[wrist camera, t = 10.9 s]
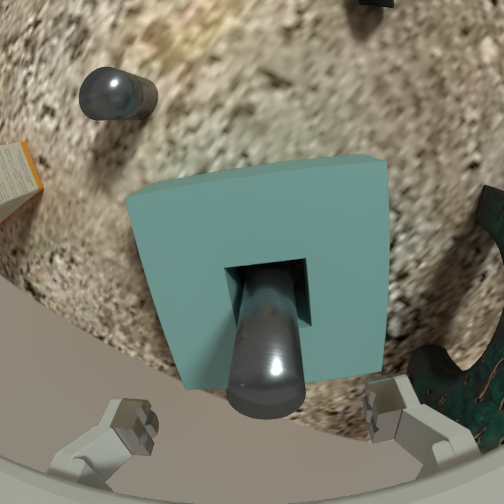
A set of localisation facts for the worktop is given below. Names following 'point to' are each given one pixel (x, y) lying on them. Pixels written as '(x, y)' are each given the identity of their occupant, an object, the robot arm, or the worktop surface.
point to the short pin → (117, 95)
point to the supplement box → (16, 178)
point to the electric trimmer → (378, 3)
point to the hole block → (270, 260)
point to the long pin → (267, 346)
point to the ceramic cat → (481, 373)
